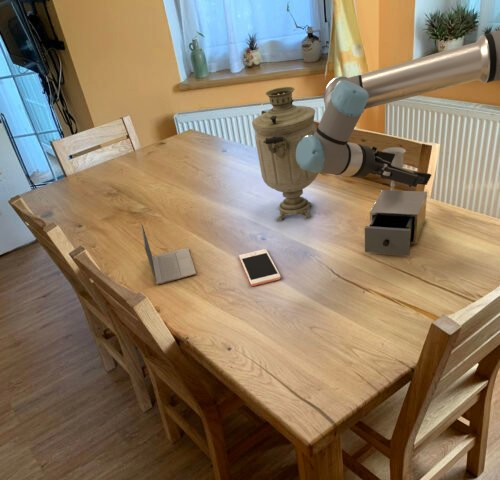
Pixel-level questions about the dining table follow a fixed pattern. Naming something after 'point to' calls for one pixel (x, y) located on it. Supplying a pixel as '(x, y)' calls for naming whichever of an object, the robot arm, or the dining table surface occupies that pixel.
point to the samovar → (284, 149)
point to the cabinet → (402, 207)
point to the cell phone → (259, 267)
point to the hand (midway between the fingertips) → (409, 168)
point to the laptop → (169, 263)
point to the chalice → (395, 159)
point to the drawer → (389, 235)
